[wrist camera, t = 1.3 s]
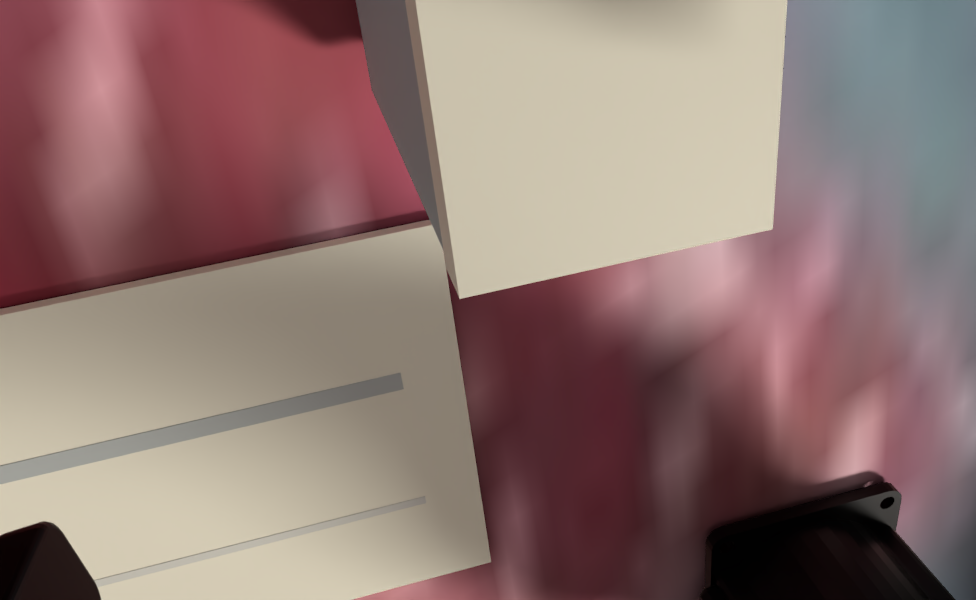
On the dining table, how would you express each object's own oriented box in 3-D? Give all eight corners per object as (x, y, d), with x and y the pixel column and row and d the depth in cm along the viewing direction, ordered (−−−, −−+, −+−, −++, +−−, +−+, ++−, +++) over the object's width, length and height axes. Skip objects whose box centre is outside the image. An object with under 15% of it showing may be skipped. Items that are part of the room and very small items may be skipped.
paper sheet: (436, 217, 21) (439, 223, 20) (489, 554, 26) (491, 562, 26) (-336, 379, 18) (-345, 388, 18) (-94, 710, 24) (-97, 720, 24)
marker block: (537, -171, 17) (795, -123, 9) (553, 43, 19) (772, 229, 11) (323, -140, 17) (406, -62, 9) (363, 79, 19) (459, 299, 11)
